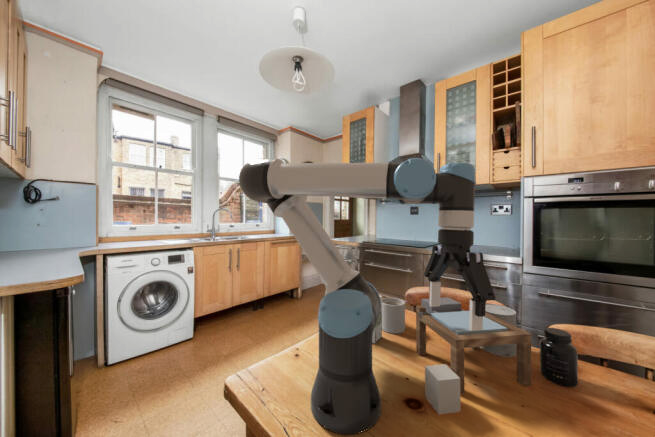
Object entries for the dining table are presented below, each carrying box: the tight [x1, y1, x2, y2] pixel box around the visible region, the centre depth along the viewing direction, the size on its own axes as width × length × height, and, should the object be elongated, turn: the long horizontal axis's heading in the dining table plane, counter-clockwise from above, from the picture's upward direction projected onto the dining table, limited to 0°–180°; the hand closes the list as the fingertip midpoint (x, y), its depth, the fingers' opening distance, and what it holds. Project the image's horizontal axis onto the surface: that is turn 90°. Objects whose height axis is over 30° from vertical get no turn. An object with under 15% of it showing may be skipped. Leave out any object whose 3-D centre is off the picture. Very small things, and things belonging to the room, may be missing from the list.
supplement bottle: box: [539, 327, 579, 389], centre depth 60 cm, size 7×7×12 cm
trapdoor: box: [420, 297, 507, 335], centre depth 70 cm, size 14×20×4 cm
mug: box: [382, 297, 406, 335], centre depth 89 cm, size 11×10×10 cm
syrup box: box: [372, 294, 383, 344], centre depth 81 cm, size 6×6×14 cm
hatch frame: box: [415, 302, 533, 395], centre depth 65 cm, size 20×18×14 cm
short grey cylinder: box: [480, 303, 517, 358], centre depth 74 cm, size 10×10×12 cm
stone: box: [424, 363, 461, 415], centre depth 52 cm, size 5×5×7 cm
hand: (452, 316), depth 57 cm, fingers open, 13 cm apart
